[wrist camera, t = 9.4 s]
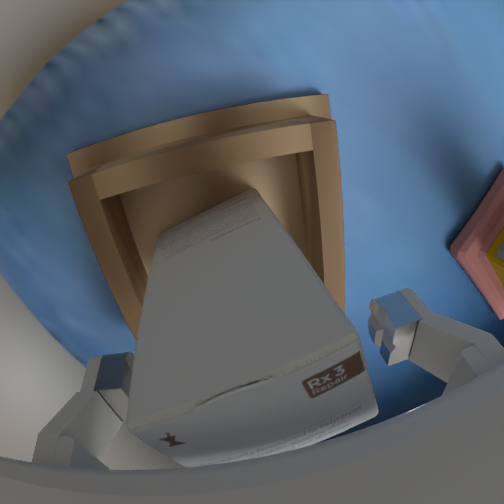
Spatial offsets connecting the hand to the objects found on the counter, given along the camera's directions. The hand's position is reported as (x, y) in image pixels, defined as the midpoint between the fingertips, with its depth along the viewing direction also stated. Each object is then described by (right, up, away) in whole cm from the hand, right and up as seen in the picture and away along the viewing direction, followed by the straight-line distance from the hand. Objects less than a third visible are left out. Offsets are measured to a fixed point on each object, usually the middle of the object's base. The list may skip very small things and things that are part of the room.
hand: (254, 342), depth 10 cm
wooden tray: (-2, +4, +8) cm, 9 cm away
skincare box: (-2, +4, +8) cm, 9 cm away
